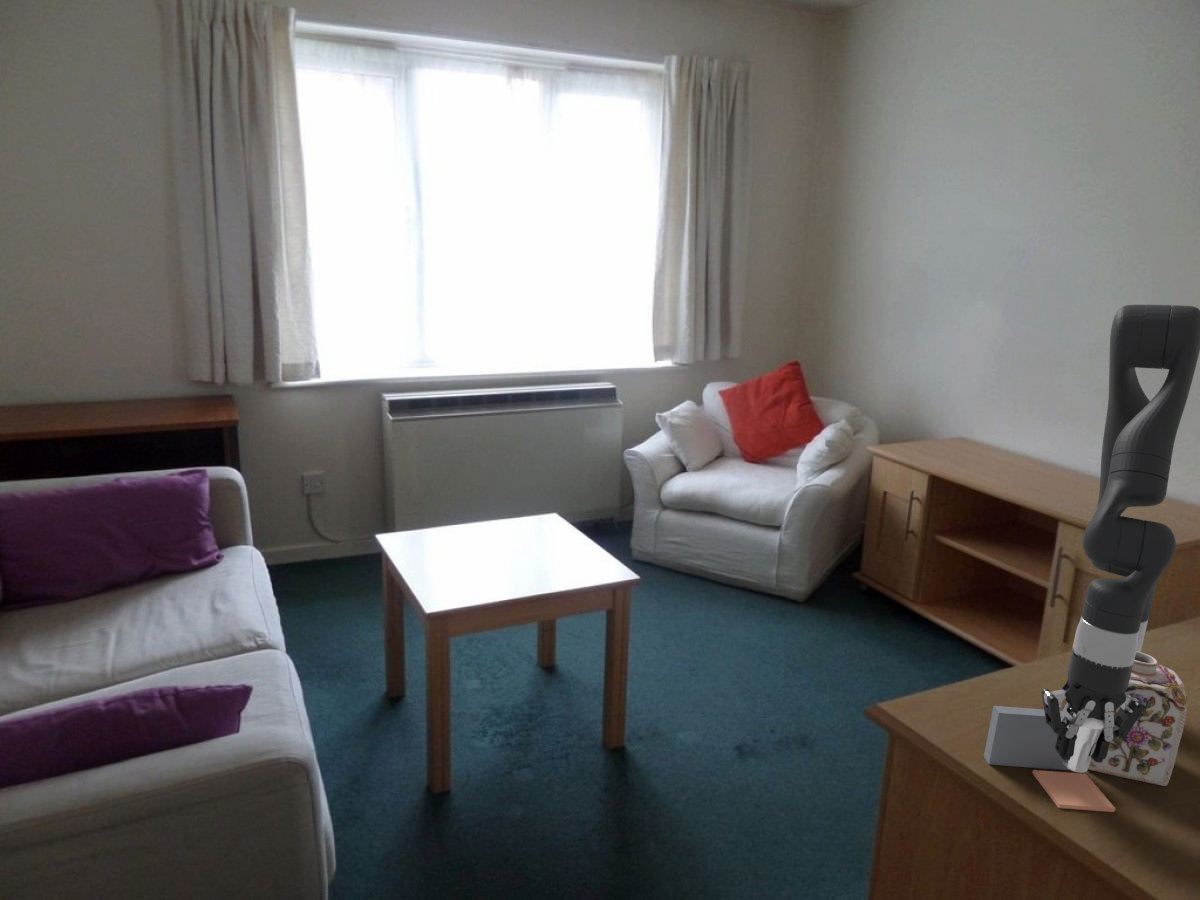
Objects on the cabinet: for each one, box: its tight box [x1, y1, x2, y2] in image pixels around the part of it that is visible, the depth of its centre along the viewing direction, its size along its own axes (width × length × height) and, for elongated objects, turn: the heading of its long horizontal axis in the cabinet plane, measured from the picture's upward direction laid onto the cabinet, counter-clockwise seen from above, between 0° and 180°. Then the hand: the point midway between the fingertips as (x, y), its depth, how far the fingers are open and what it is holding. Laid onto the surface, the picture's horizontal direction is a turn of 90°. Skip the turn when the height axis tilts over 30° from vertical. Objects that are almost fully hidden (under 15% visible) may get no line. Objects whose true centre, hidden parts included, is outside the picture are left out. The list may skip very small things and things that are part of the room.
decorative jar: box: [1087, 651, 1189, 787], centre depth 129 cm, size 12×12×18 cm
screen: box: [983, 705, 1073, 772], centre depth 128 cm, size 13×2×9 cm, turn 88°
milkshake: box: [1063, 712, 1104, 774], centre depth 120 cm, size 4×5×10 cm
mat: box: [1032, 769, 1116, 813], centre depth 122 cm, size 8×8×1 cm
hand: (1079, 757), depth 121 cm, fingers closed on milkshake, 4 cm apart
